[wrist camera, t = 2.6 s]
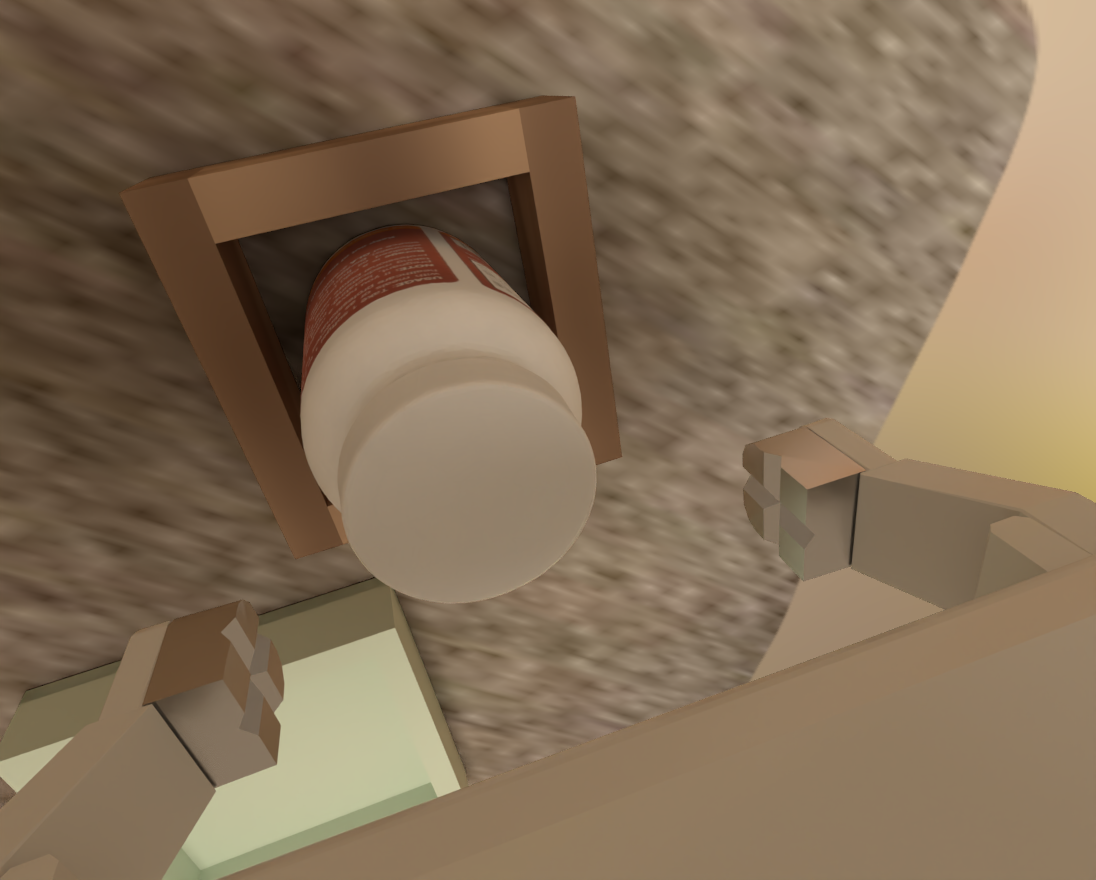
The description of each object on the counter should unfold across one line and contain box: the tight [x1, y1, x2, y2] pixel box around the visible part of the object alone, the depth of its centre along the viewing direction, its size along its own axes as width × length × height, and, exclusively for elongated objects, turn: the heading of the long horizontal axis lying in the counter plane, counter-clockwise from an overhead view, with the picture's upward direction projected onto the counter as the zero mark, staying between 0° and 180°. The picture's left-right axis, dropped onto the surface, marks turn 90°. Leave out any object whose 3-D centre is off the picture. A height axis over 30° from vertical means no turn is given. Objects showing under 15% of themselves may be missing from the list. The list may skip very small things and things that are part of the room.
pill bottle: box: [300, 224, 597, 603], centre depth 16 cm, size 6×6×11 cm
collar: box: [119, 96, 622, 559], centre depth 20 cm, size 11×11×3 cm
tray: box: [0, 578, 468, 880], centre depth 26 cm, size 13×13×3 cm
